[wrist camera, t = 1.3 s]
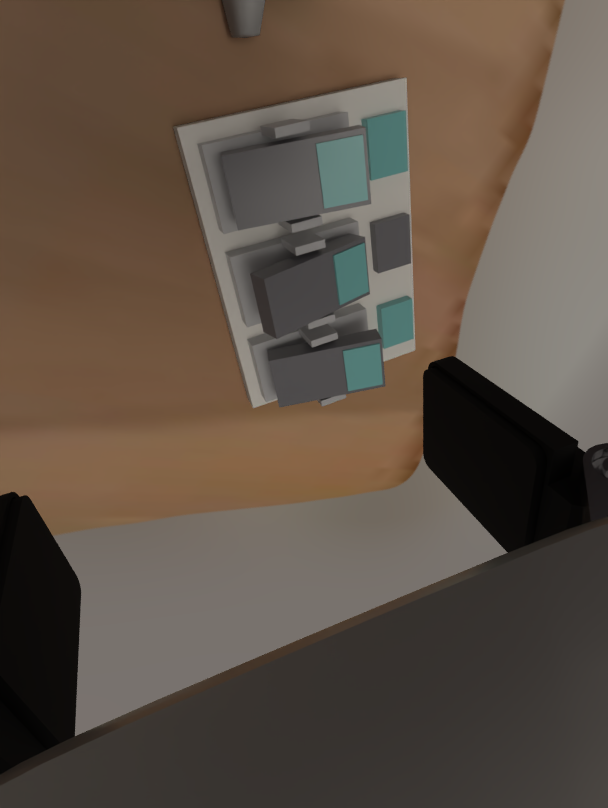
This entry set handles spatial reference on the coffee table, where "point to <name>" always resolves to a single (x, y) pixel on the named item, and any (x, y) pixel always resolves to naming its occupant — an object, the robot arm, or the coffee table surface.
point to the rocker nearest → (298, 177)
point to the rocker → (327, 368)
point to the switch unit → (309, 223)
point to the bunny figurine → (244, 17)
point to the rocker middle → (311, 285)
